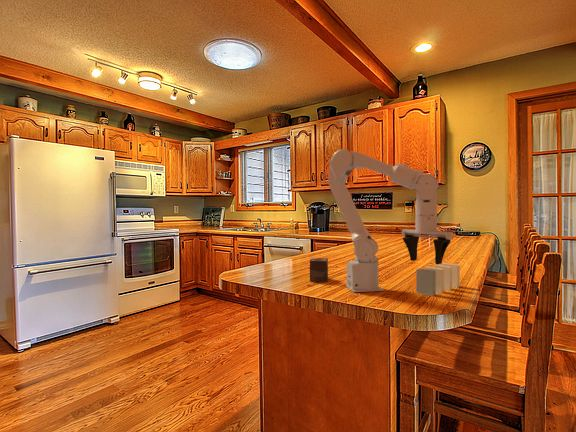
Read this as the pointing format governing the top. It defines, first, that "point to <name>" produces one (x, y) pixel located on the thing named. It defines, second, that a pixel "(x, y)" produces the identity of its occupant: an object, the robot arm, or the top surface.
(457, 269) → the domino
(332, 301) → the top surface
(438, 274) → the domino
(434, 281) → the domino
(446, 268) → the domino
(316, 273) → the box
